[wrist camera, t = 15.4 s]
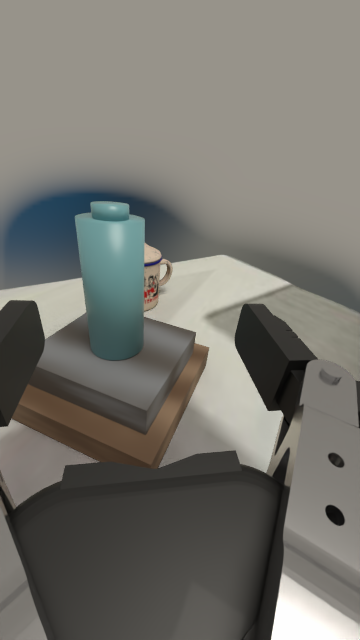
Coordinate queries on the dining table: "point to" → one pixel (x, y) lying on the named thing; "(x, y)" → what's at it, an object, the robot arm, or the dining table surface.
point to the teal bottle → (113, 278)
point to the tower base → (109, 432)
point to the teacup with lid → (153, 275)
